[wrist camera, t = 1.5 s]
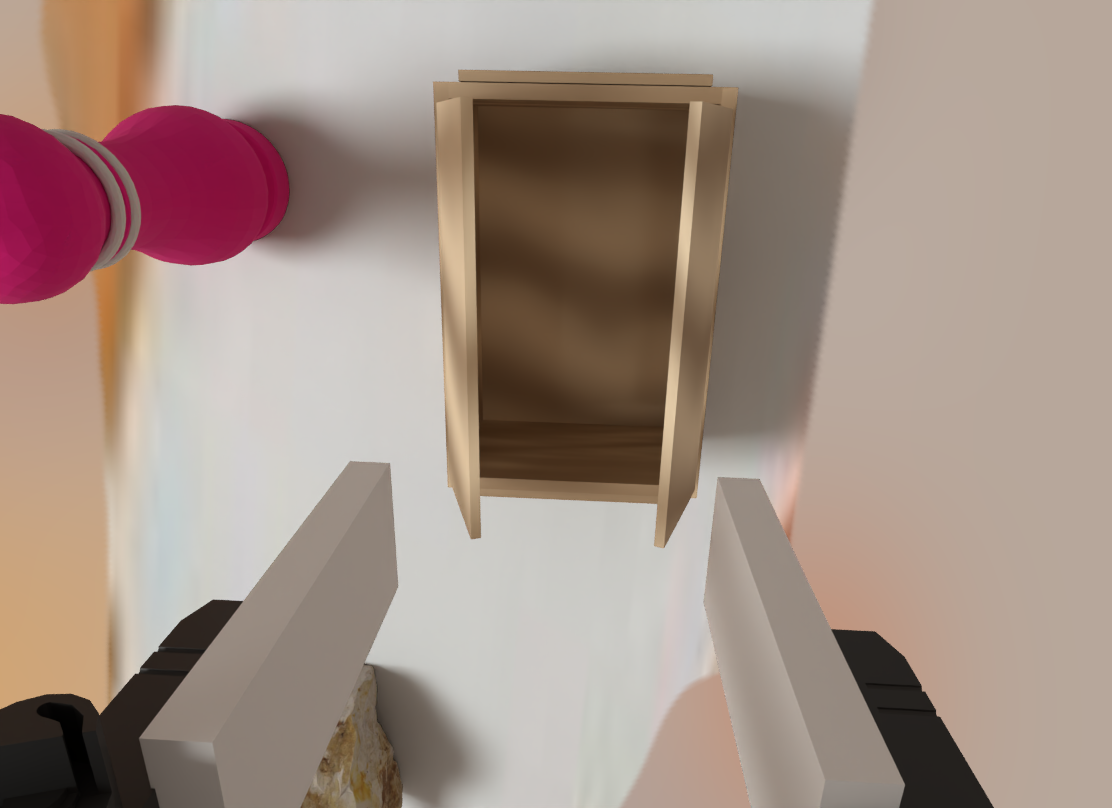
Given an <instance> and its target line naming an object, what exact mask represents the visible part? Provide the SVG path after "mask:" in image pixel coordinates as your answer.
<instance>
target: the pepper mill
mask: <svg viewBox="0 0 1112 808" xmlns="http://www.w3.org/2000/svg"><path fill="white" fill-rule="evenodd" d="M288 201H289V182H288V175H287V172H286V169H285V166H284V163H283V161H282V159H281V157H280V155H279V154H278V152H277V151H276V149H275V148H274V146H273V145H272V144H271V143H270V142H269V141H268V140H267V139H266V138H265V137H264V136H263V135H262V134H261V133H259V132H258V131H256V130H255V129H253V128H252V127H250V126H248V125H245V124H243V123H241V122H238V121H234V120H228V119H221V118H220V117H218V116H216V115H214V114H211V113H209V112H207V111H204V110H201V109H197V108H194V107H189V106H178V105H173V106H161V107H155V108H148V109H146V110H143V111H141V112H138V113H135V114H133V115H132V116H130V117H128V118H127V119H125V120H123V121H121V122H120V123H119V124H118V125H117V126H116V127H115V128H114V129H113V130H112V131H111V132H110V133H109V134H108V135H107V136H106V137H105V138H104V139H103V141H102V142H97V141H95V140H93V139H91V138H89V137H87V136H85V135H83V134H80V133H77V132H74V131H69V130H61V129H51V130H45V129H40V128H38V127H36V126H35V125H33V124H30V123H28V122H25V121H23V120H20V119H18V118H15V117H13V116H9V115H2V114H0V304H18V303H27V302H34V301H40V300H44V299H48V298H51V297H54V296H56V295H59V294H61V293H63V292H65V291H67V290H68V289H70V288H71V287H73V286H74V285H76V284H77V283H78V282H80V281H81V280H83V279H84V278H85V276H86V275H87V274H88V273H89V272H90V271H93V270H96V269H102V268H106V267H109V266H111V265H113V264H115V263H117V262H118V261H119V260H121V259H122V258H123V257H125V256H126V255H127V254H128V253H129V251H130V250H131V249H132V250H137V251H139V252H142V253H144V254H146V255H148V256H150V257H153V258H155V259H158V260H161V261H164V262H169V263H176V264H184V265H204V264H210V263H215V262H220V261H224V260H227V259H229V258H232V257H234V256H235V255H237V254H239V253H240V252H242V251H243V250H244V249H245V248H247V247H248V246H249V245H250V244H251V243H252V242H253V241H254V240H258V239H260V238H262V237H264V236H266V235H267V234H268V233H270V232H271V231H272V230H273V229H274V228H275V227H276V226H277V225H278V224H279V223H280V221H281V220H282V218H283V216H284V214H285V212H286V208H287V205H288Z"/></svg>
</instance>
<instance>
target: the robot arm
mask: <svg viewBox="0 0 1112 808" xmlns="http://www.w3.org/2000/svg"><path fill="white" fill-rule="evenodd" d="M397 588H398V575H397V560H396V545H395V531H394V516H393V501H392V486H391V471H390V463H375V462H352V461H350V462H349V463H348V465H347V466H346V467H345V469H344V470H343V471H342V473H341V474H340V475H339V477H338V478H337V479H336V480H335V482H334V483H333V484H332V486H331V487H330V488H329V490H328V491H327V492H326V494H325V495H324V496H323V498H322V499H321V500H320V501H319V503H318V504H317V505H316V507H315V508H314V509H313V511H312V512H311V513H310V515H309V516H308V517H307V518H306V520H305V521H304V522H303V524H302V525H301V526H300V528H299V529H298V530H297V532H296V533H295V534H294V536H293V537H292V538H291V539H290V541H289V542H288V543H287V545H286V546H285V547H284V549H283V550H282V551H281V553H280V554H279V555H278V557H277V558H276V559H275V560H274V562H273V563H272V564H271V566H270V567H269V568H268V570H267V571H266V572H265V574H264V575H263V576H262V578H261V579H260V580H259V581H258V583H257V584H256V585H255V587H254V588H253V589H252V591H251V592H250V593H249V595H248V596H247V597H246V599H245V600H244V601H230V600H212V601H210V602H209V603H207V604H206V605H204V606H203V607H201V608H200V609H198V610H197V611H195V612H194V613H192V614H190V615H189V616H187V617H186V618H184V619H183V620H181V621H180V622H179V624H178V625H177V626H176V627H175V628H174V629H173V630H172V632H171V633H170V634H169V635H168V636H167V637H166V639H165V640H164V641H163V642H162V643H161V644H160V646H159V649H158V652H154V653H153V654H152V655H151V656H150V657H149V658H148V660H147V661H146V662H145V663H144V664H143V665H142V667H141V668H140V672H139V674H135V675H134V676H133V677H132V678H131V679H130V680H129V682H128V683H127V684H126V685H125V686H124V687H123V689H122V690H121V691H120V692H119V693H118V694H117V696H116V697H115V698H114V699H113V700H112V701H111V703H110V704H109V705H108V706H107V707H106V708H105V709H104V711H103V712H102V713H101V714H100V715H99V713H98V712H97V710H96V709H95V707H94V706H93V704H92V703H91V701H90V700H88V699H85V698H82V697H79V696H76V695H73V694H47V695H43V696H39V697H35V698H31V699H27V700H23V701H19V702H16V703H14V704H11V705H9V706H7V707H5V708H3V709H0V808H300V807H301V805H302V803H303V801H304V798H305V796H306V794H307V792H308V789H309V787H310V785H311V783H312V780H313V778H314V776H315V774H316V771H317V769H318V767H319V764H320V762H321V760H322V758H323V755H324V753H325V751H326V749H327V746H328V744H329V742H330V740H331V737H332V735H333V733H334V731H335V728H336V726H337V724H338V722H339V719H340V717H341V715H342V712H343V710H344V708H345V706H346V703H347V701H348V699H349V697H350V694H351V692H352V690H353V688H354V685H355V683H356V681H357V679H358V676H359V674H360V672H361V670H362V667H363V665H364V663H365V660H366V658H367V656H368V654H369V651H370V649H371V647H372V645H373V642H374V640H375V638H376V636H377V633H378V631H379V629H380V627H381V624H382V622H383V620H384V618H385V615H386V613H387V611H388V609H389V606H390V604H391V602H392V599H393V597H394V595H395V593H396V590H397ZM704 606H705V610H706V614H707V619H708V623H709V627H710V632H711V636H712V641H713V645H714V649H715V654H716V658H717V662H718V667H719V671H720V675H721V679H722V683H723V688H724V693H725V697H726V701H727V706H728V710H729V714H730V718H731V723H732V727H733V732H734V736H735V741H736V745H737V749H738V754H739V758H740V762H741V767H742V771H743V775H744V779H745V784H746V788H747V793H748V797H749V801H750V806H751V808H994V807H993V806H992V804H991V802H990V800H989V799H988V798H987V795H986V794H985V792H984V790H983V789H982V787H981V785H980V784H979V782H978V780H977V779H976V777H975V775H974V773H973V772H972V770H971V768H970V767H969V765H968V763H967V762H966V760H965V758H964V757H963V755H962V753H961V752H960V750H959V748H958V746H957V745H956V743H955V742H954V740H953V738H952V736H951V735H950V733H949V731H948V730H947V728H946V726H945V725H944V723H943V721H942V719H941V718H940V717H937V715H936V709H935V708H934V706H933V704H932V703H931V701H930V700H929V698H928V696H927V694H926V692H922V686H921V684H920V682H919V681H918V679H917V677H916V676H915V674H914V672H913V670H912V669H911V667H910V665H909V664H908V662H907V661H906V659H905V657H904V656H903V655H902V654H901V653H899V652H898V651H897V650H896V649H895V648H894V647H892V646H891V645H890V644H889V643H888V642H886V640H884V639H883V638H882V637H881V636H880V635H879V634H877V633H876V632H873V631H852V630H835V629H831V628H830V626H829V624H828V622H827V620H826V618H825V616H824V614H823V611H822V609H821V607H820V605H819V603H818V601H817V599H816V597H815V595H814V593H813V591H812V588H811V586H810V584H809V582H808V580H807V578H806V576H805V574H804V572H803V569H802V567H801V565H800V563H799V561H798V559H797V557H796V555H795V553H794V551H793V548H792V546H791V544H790V542H789V540H788V538H787V536H786V534H785V532H784V529H783V527H782V525H781V523H780V521H779V519H778V517H777V515H776V513H775V511H774V508H773V506H772V504H771V502H770V500H769V498H768V496H767V494H766V492H765V490H764V487H763V485H762V483H761V481H760V479H748V478H724V477H718V479H717V488H716V497H715V505H714V514H713V523H712V532H711V541H710V550H709V559H708V568H707V576H706V585H705V594H704Z"/></svg>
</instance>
